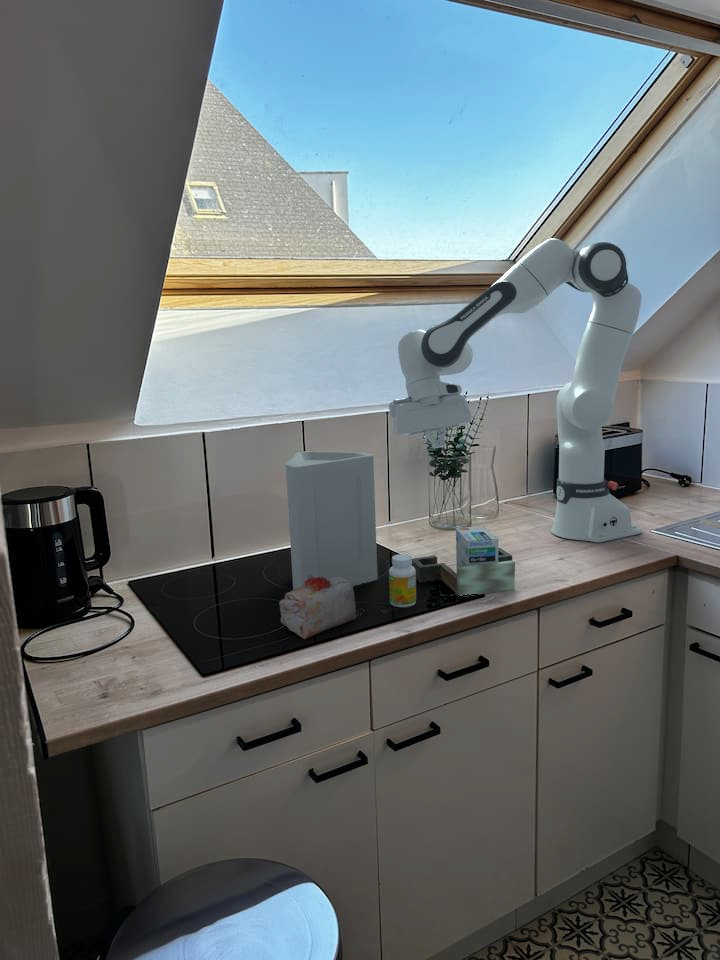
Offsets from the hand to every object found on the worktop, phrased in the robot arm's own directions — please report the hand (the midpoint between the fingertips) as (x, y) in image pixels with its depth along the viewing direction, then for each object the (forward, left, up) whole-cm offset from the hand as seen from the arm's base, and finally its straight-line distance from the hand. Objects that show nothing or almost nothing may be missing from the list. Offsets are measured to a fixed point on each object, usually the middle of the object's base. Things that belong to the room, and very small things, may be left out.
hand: (439, 447), depth 180 cm
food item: (+40, +41, -25) cm, 63 cm away
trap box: (+4, +28, -24) cm, 37 cm away
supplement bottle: (+22, +36, -25) cm, 49 cm away
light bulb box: (+3, +29, -25) cm, 38 cm away
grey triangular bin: (+34, +17, -25) cm, 45 cm away
